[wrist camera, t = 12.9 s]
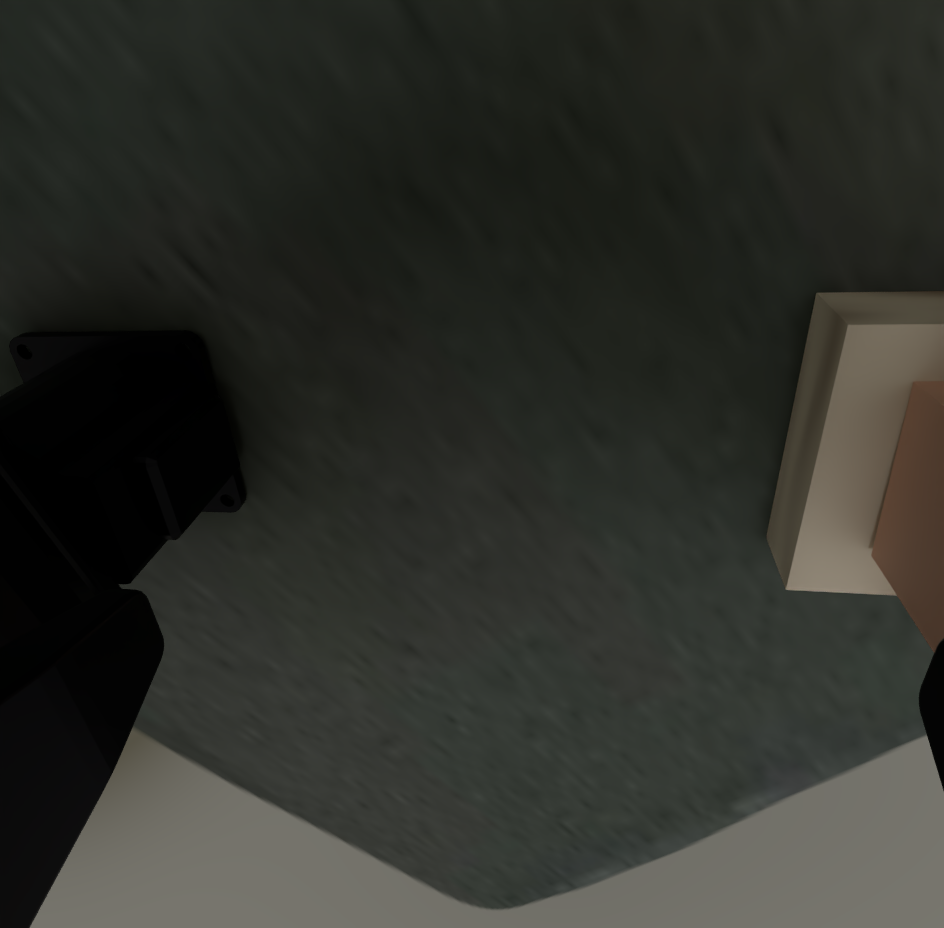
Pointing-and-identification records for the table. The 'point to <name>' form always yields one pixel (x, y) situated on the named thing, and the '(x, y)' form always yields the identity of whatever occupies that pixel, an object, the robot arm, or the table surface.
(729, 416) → the table surface
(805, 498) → the slab
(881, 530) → the column
